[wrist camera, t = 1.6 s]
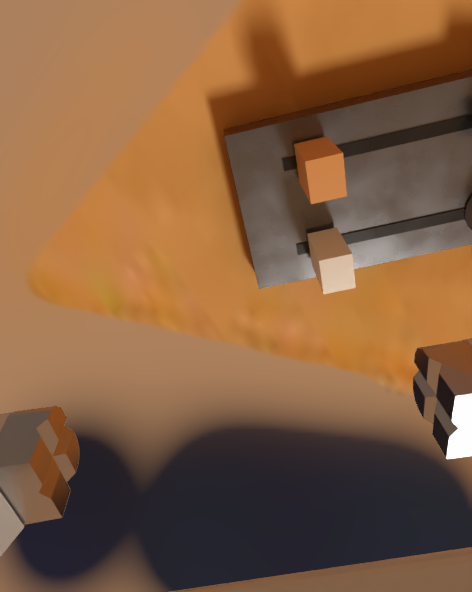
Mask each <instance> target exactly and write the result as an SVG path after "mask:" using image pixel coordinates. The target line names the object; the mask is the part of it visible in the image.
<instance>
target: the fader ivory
mask: <svg viewBox="0 0 472 592" xmlns="http://www.w3.org/2000/svg"><path fill="white" fill-rule="evenodd" d="M307 236H308V242H309V249H310V256H311V263H312V266H313V269H314V271H315V274H316V276H317V279H318V282H319V284H320V287H321V289H322V292H323V294H327V293H332V292H337V291H342V290H347V289H352V288H356V287H355V276H354V266H353V255H352V252H351V251H350V249H349V247H348V245H347V244H346V242H345V240H344V239H343V237H342V235H341V234H340V232H339V230H338V229H337V227H336V228H331V229H327V230H322V231H318V232H313V233H309V234H307Z"/></svg>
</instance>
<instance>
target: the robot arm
mask: <svg viewBox="0 0 472 592" xmlns="http://www.w3.org/2000/svg"><path fill="white" fill-rule="evenodd" d="M414 363H415V364H416V366H417V367H418V369H419V371H418V372H417V374H416V375H415V376H414V377H413V392H414V397H415V401H416V404H417V406H418V409H419V411H420V413H421V415H422V416H423V418H424V419H425V420H427V421H429V422H431V423H432V424H433V433H432V434H433V436H434V438H435V440H436V441H437V443H438V445H439V446H440V448H441V450H442V452H443V453H444V455H445V457H446V458H447V459H450V458H458V457H466V456H472V339H466V340H463V341H457V342H451V343H445V344H439V345H433V346H427V347H421V348H417V350H416V352H415V360H414ZM65 421H66V416H65V414H64V412H63V410H62V409H61V407H57V406H53V407H46V408H38V409H31V410H23V411H16V412H12V413H4V414H0V556H1V555H2V554H3V553H4V551H5V550H6V549H7V548H8V546H9V545H10V544H11V543H12V541H13V540H14V539H15V538H16V537H17V535H18V534H19V533H20V532H21V530H22V529H23V528H24V524H30V523H36V522H41V521H46V520H52V519H58V518H62V517H63V514H64V510H65V507H66V504H67V500H68V497H69V494H70V488H69V486H68V484H67V481H68V480H69V479H70V478H71V477H72V476H73V475H74V474H75V473H76V470H77V466H78V462H79V445H78V441H77V438H76V436H75V434H74V432H73V431H72V430H70V429H69V428H67V427H65V426H64V424H65ZM171 592H472V547H470V548H464V549H457V550H450V551H444V552H436V553H430V554H423V555H416V556H409V557H402V558H396V559H389V560H382V561H375V562H369V563H362V564H355V565H348V566H342V567H335V568H329V569H321V570H314V571H308V572H301V573H294V574H287V575H281V576H274V577H267V578H260V579H254V580H246V581H240V582H233V583H226V584H220V585H213V586H205V587H199V588H192V589H185V590H179V591H171Z"/></svg>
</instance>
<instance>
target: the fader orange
mask: <svg viewBox="0 0 472 592" xmlns="http://www.w3.org/2000/svg"><path fill="white" fill-rule="evenodd" d="M294 148H295V155H296V162H297V169H298V175H299V182H300V184H301V186H302V188H303V190H304V192H305V194H306V196H307V198H308V199H309V201H310V203H311V204H315V203H319V202H324V201H328V200H333V199H337V198H342V197H346V196H347V190H346V179H345V168H344V158H343V152H342V151H341V150H340V149H339V148H338V147H337V146H336V145H335V144H334V143H333V142H332V141H331V140H330V139H329V138H328V137H327V136H326V137H322V138H318V139H313V140H309V141H305V142H301V143H296V144H294Z"/></svg>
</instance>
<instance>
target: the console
mask: <svg viewBox="0 0 472 592" xmlns="http://www.w3.org/2000/svg"><path fill="white" fill-rule="evenodd" d="M326 136H327V137H328V138H329V139H330V140H331V141H332V142H333V143H334V144H335V145H336V146H337V147H338V148H339V149H340V150H341V151H342V152H343V158H344V168H345V179H346V190H347V196H346V197H342V198H337V199H333V200H328V201H324V202H319V203H315V204H311V203H310V201H309V199H308V198H307V196H306V194H305V192H304V190H303V188H302V186H301V184H300V182H299V175H298V169H297V162H296V155H295V148H294V144H296V143H301V142H305V141H309V140H313V139H318V138H322V137H326ZM224 138H225V142H226V147H227V151H228V155H229V160H230V164H231V169H232V173H233V177H234V182H235V186H236V190H237V195H238V199H239V204H240V208H241V212H242V217H243V221H244V225H245V230H246V234H247V239H248V243H249V247H250V252H251V256H252V261H253V265H254V269H255V274H256V278H257V282H258V287H259V289H261V288H266V287H271V286H275V285H280V284H285V283H290V282H294V281H299V280H304V279H309V278H314V277H317V276H316V274H315V271H314V269H313V266H312V263H311V256H310V249H309V242H308V236H307V234H309V233H313V232H318V231H322V230H327V229H331V228H336V227H337V229H338V230H339V232H340V234H341V235H342V237H343V239H344V240H345V242H346V244H347V245H348V247H349V249H350V251H351V252H352V255H353V266H354V269H356V268H361V267H366V266H371V265H375V264H380V263H385V262H390V261H395V260H399V259H404V258H409V257H414V256H418V255H423V254H428V253H433V252H437V251H442V250H447V249H452V248H457V247H461V246H466V245H471V244H472V70H468V71H464V72H460V73H455V74H451V75H447V76H443V77H439V78H435V79H431V80H427V81H422V82H418V83H414V84H410V85H406V86H402V87H398V88H394V89H389V90H385V91H381V92H377V93H373V94H369V95H365V96H361V97H356V98H352V99H348V100H344V101H340V102H336V103H332V104H328V105H323V106H319V107H315V108H311V109H307V110H303V111H299V112H295V113H290V114H286V115H282V116H278V117H274V118H270V119H266V120H262V121H257V122H253V123H249V124H245V125H241V126H237V127H233V128H229V129H224Z"/></svg>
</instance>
